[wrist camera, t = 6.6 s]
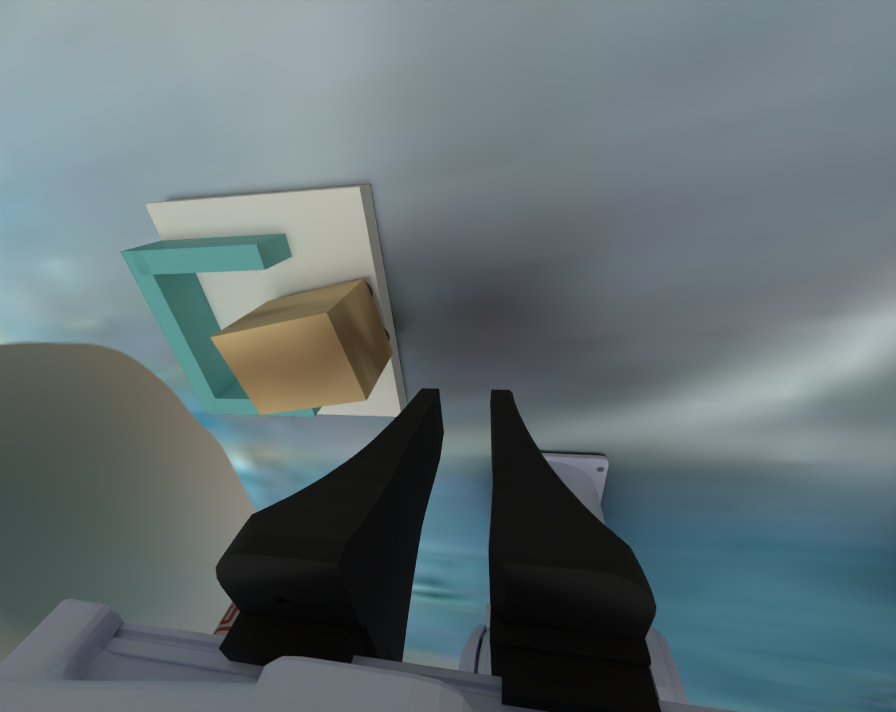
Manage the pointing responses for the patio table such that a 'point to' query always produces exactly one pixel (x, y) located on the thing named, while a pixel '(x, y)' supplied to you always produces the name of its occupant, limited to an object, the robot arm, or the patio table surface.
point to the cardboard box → (308, 349)
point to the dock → (259, 278)
